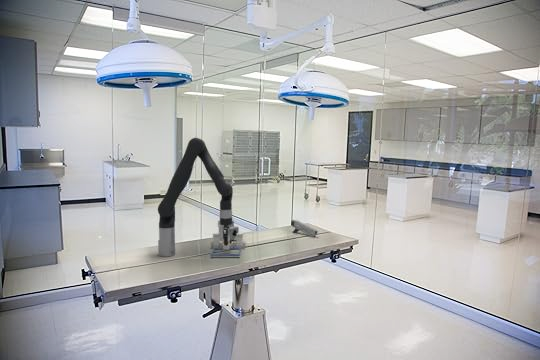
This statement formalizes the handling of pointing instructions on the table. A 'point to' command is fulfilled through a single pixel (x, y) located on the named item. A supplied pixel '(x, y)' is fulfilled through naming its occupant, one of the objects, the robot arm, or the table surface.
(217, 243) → the left fuse
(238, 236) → the right fuse
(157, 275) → the table surface
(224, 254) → the tray
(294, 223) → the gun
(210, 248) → the fuse holder
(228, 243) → the block
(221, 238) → the circuit breaker
